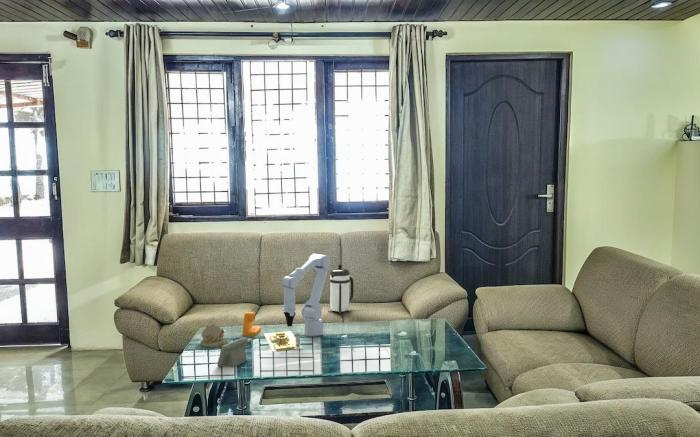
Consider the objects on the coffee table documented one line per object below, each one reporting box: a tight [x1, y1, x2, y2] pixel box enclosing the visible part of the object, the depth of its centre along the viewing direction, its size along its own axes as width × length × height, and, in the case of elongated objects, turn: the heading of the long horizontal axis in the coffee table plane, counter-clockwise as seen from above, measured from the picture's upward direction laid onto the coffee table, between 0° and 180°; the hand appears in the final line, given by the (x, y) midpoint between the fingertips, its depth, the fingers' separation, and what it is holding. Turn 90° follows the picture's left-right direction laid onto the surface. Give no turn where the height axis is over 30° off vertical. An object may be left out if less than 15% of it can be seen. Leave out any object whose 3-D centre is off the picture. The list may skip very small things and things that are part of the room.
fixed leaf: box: [274, 335, 296, 352], centre depth 259 cm, size 9×13×4 cm
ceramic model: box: [200, 323, 228, 348], centre depth 264 cm, size 14×11×10 cm
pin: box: [294, 333, 301, 346], centre depth 259 cm, size 2×2×6 cm
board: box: [263, 330, 303, 352], centre depth 267 cm, size 15×28×1 cm, turn 18°
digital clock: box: [217, 336, 249, 368], centre depth 237 cm, size 16×9×11 cm, turn 138°
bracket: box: [242, 311, 262, 337], centre depth 279 cm, size 11×7×12 cm, turn 174°
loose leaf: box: [270, 331, 289, 342], centre depth 269 cm, size 9×8×4 cm
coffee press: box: [327, 264, 354, 316], centre depth 324 cm, size 17×16×30 cm
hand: (289, 326), depth 263 cm, fingers closed
